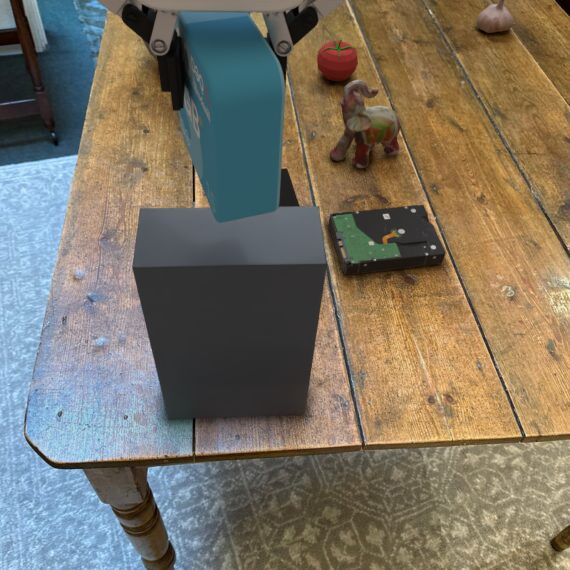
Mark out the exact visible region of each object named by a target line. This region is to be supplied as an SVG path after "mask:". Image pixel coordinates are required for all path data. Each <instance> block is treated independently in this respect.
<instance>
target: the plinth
mask: <svg viewBox="0 0 570 570" xmlns="http://www.w3.org/2000/svg"><path fill="white" fill-rule="evenodd" d="M299 206H300V205H299ZM324 239H325V238H324V232H323V224H322V218H321V211H320V206H319V205H316V206H315V205H312V206H311V205H310V206H309V205H308V206H306V205H304V206H302V205H301V206H300V207H278V209H277V210H276V211H274V212H270V213H265V214H260V215H256V216H251V217H246V218H242V219H237V220H232V221H228V222H223V223H219V222H217V221H216V219H215V217H214V215H213V213H212V210H211V208H210V207H141V208H139V213H138V220H137V229H136V234H135V244H134V250H133V258H132V265H131V268H132V272H133V277H134V281H135V286H136V290H137V294H138V298H139V303H140V307H141V312H142V315H143V319H144V323H145V327H146V333H147V336H148V341H149V345H150V349H151V353H152V357H153V362H154V366H155V370H156V374H157V378H158V381H159V382H158V383H159V388H160V391H161V396H162V400H163V405H164V408H165V409H164V410H165V413H166V417H167V420H188V419H189V420H190V419H217V418H243V417H244V418H245V417H246V418H247V417H272V416H296V415H297V416H299V415H305V414H306V408H307V401H308V396H309V395H308V394H309V389H310V383H311V374H312V367H313V361H314V356H315V355H314V354H315V348H316V341H317V333H318V329H319V328H318V327H319V321H320V315H321V307H322V301H323V295H324V289H325V288H324V287H325V281H326V275H327V274H326V273H327V267H328V261H327V255H326V247H325V240H324Z"/></svg>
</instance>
